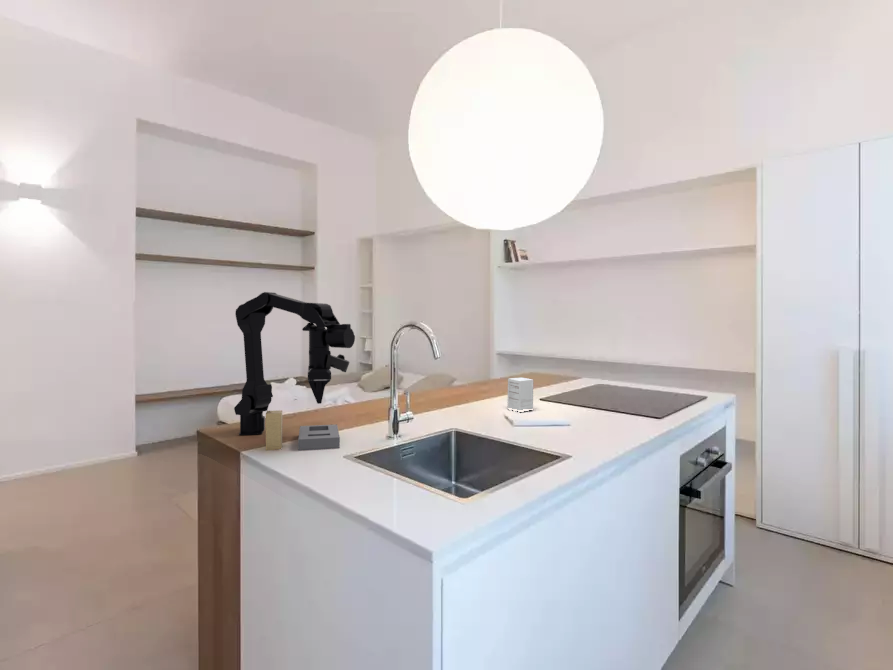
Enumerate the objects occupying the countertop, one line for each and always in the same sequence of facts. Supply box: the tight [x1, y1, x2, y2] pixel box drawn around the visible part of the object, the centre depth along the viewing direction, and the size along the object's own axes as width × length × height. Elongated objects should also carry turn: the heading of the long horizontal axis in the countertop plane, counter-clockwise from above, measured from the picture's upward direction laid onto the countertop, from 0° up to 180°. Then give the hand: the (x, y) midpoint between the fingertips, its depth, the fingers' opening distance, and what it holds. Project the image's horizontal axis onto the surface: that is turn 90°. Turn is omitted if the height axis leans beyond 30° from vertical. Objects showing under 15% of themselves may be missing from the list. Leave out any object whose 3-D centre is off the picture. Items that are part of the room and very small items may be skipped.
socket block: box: [297, 424, 341, 451], centre depth 141 cm, size 11×16×3 cm
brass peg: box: [265, 409, 283, 451], centre depth 134 cm, size 4×4×10 cm
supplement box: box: [507, 377, 534, 410], centre depth 191 cm, size 7×7×13 cm
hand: (319, 400), depth 140 cm, fingers open, 9 cm apart
